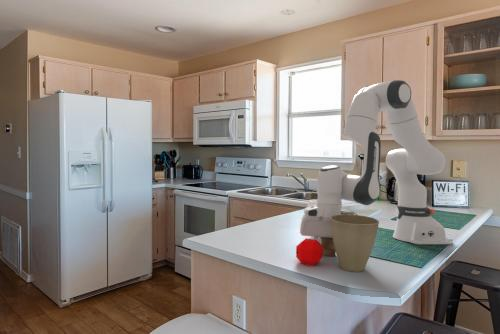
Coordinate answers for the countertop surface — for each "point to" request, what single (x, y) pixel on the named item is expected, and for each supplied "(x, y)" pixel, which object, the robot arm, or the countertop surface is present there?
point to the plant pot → (353, 240)
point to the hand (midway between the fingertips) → (327, 248)
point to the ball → (309, 251)
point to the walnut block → (328, 246)
